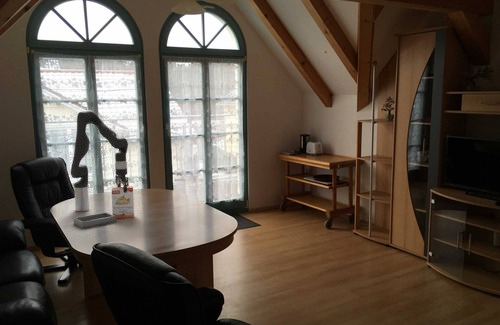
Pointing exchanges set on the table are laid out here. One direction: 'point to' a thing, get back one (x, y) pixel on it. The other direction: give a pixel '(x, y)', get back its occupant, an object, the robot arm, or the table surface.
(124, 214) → the cracker box
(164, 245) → the table surface
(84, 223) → the bin
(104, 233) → the table surface
